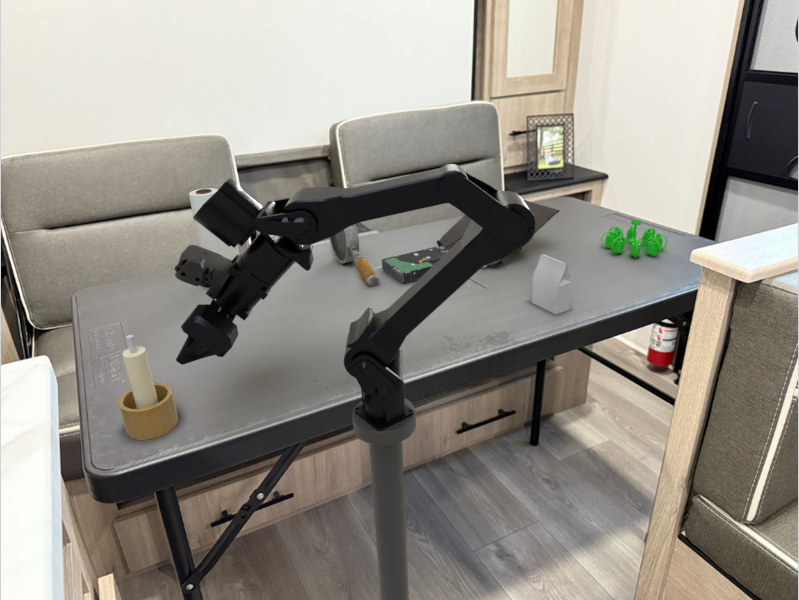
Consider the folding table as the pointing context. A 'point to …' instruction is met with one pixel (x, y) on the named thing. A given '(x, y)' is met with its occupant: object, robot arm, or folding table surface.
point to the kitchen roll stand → (139, 374)
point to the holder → (149, 414)
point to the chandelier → (634, 240)
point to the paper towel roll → (203, 235)
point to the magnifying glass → (352, 253)
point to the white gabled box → (552, 285)
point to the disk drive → (412, 264)
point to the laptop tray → (457, 231)
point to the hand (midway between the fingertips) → (190, 344)
